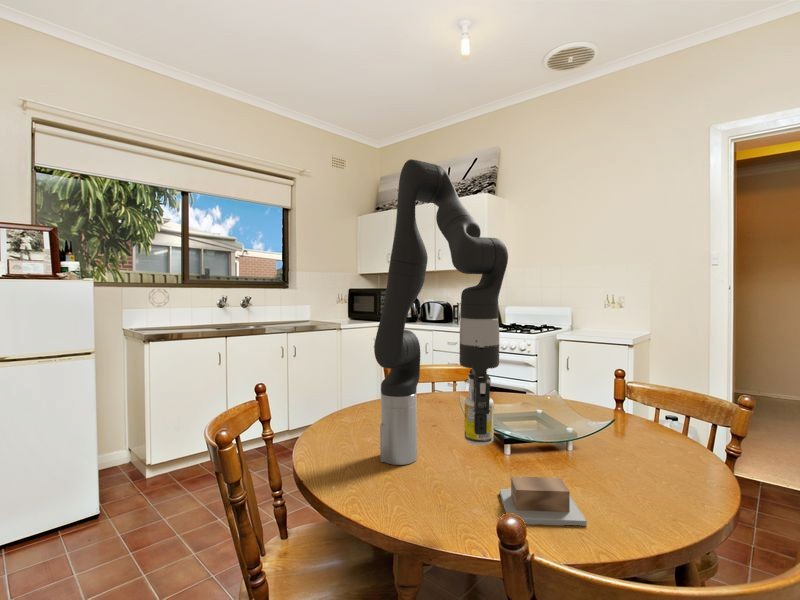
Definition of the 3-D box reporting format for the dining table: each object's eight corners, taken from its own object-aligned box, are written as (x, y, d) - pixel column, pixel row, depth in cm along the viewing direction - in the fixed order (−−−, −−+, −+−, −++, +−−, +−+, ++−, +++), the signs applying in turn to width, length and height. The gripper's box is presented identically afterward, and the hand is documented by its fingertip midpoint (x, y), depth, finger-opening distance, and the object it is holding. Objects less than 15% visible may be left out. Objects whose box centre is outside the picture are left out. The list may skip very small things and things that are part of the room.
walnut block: (516, 510, 84) (516, 489, 84) (511, 495, 90) (511, 476, 90) (569, 512, 83) (569, 491, 83) (560, 497, 89) (560, 477, 89)
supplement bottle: (473, 434, 88) (474, 384, 88) (498, 440, 84) (499, 388, 84) (458, 441, 84) (459, 389, 83) (484, 448, 80) (484, 393, 80)
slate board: (509, 523, 81) (509, 518, 81) (499, 493, 93) (499, 488, 93) (586, 526, 80) (586, 520, 80) (566, 495, 92) (566, 490, 92)
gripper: (457, 336, 91) (457, 416, 91) (461, 346, 77) (461, 441, 77) (494, 337, 90) (493, 417, 91) (505, 347, 76) (504, 442, 76)
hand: (478, 428), depth 84 cm, fingers closed on supplement bottle, 5 cm apart
